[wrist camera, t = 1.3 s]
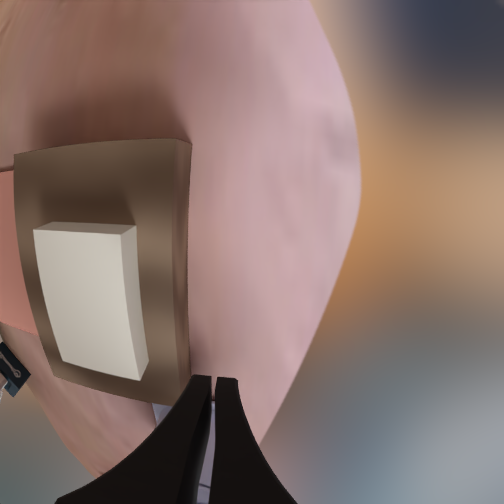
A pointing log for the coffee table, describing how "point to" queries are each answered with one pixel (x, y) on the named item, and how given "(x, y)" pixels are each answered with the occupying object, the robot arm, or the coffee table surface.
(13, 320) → the mat
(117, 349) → the tile
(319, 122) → the coffee table surface
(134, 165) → the brown wooden block
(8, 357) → the watch
